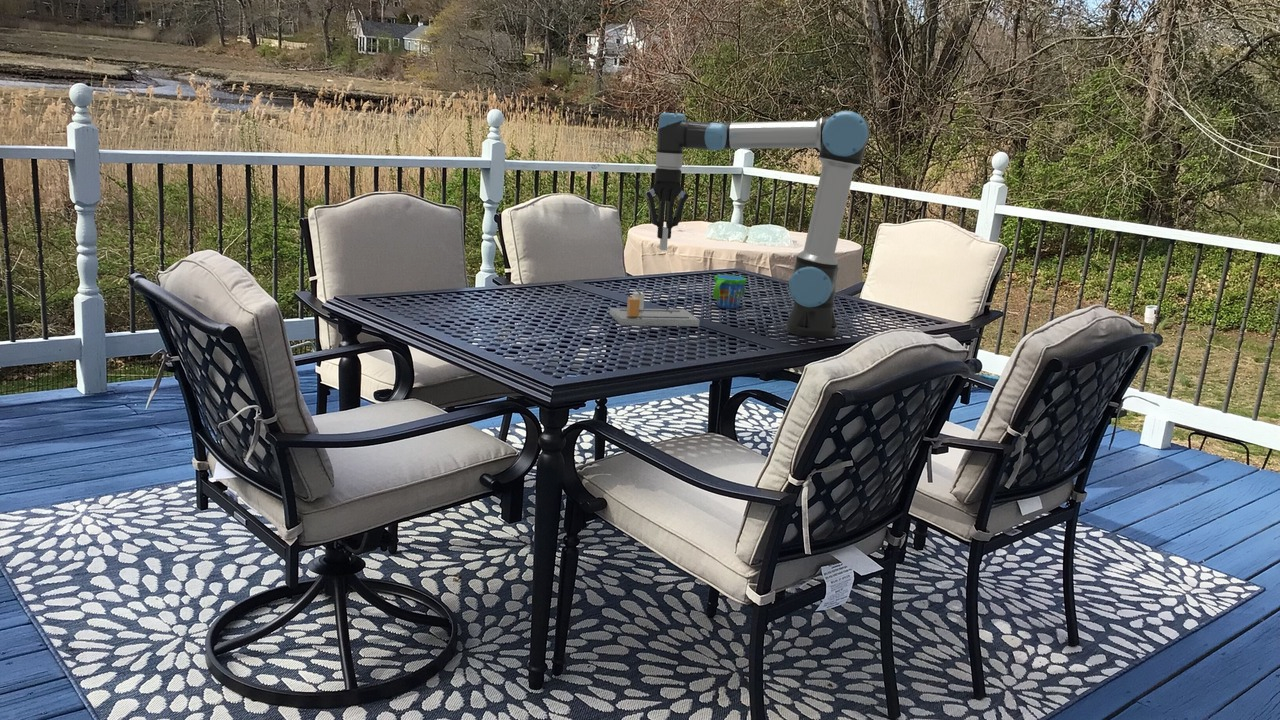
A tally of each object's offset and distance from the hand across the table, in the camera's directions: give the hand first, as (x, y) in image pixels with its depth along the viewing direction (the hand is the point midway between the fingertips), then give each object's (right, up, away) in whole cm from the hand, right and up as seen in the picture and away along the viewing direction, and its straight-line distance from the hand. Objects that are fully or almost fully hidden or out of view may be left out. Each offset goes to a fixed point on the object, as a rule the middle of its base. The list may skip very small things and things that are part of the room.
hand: (663, 249), depth 288 cm
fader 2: (-9, -19, +3) cm, 21 cm away
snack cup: (+23, -15, +40) cm, 48 cm away
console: (-3, -20, +10) cm, 23 cm away
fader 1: (-8, -17, +13) cm, 23 cm away
